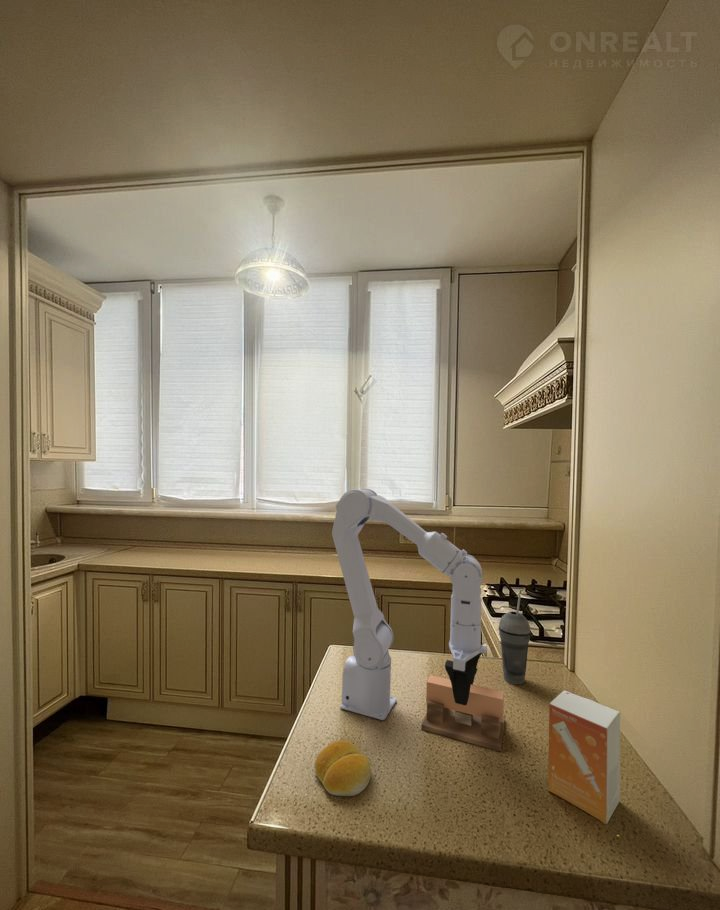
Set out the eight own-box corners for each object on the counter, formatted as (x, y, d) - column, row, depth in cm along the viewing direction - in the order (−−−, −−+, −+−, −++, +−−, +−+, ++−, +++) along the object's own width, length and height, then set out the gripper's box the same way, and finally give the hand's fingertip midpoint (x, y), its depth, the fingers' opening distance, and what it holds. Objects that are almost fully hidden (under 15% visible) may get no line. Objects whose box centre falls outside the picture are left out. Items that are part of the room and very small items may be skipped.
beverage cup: (506, 669, 100) (507, 587, 101) (536, 681, 94) (536, 594, 95) (491, 678, 95) (493, 592, 96) (521, 691, 89) (522, 600, 90)
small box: (547, 791, 61) (547, 702, 61) (563, 771, 65) (563, 688, 66) (607, 826, 55) (607, 727, 55) (621, 802, 59) (621, 710, 60)
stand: (421, 729, 75) (421, 707, 75) (433, 702, 84) (433, 682, 84) (500, 751, 69) (501, 727, 69) (504, 720, 78) (504, 699, 79)
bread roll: (335, 808, 57) (335, 779, 57) (307, 768, 64) (308, 742, 64) (382, 786, 61) (383, 758, 61) (352, 751, 68) (352, 726, 69)
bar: (426, 703, 78) (426, 681, 78) (429, 695, 81) (430, 675, 81) (502, 722, 73) (502, 699, 73) (503, 713, 75) (503, 691, 76)
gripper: (482, 638, 69) (481, 719, 69) (490, 613, 83) (489, 680, 82) (442, 630, 72) (440, 708, 71) (456, 607, 85) (454, 673, 85)
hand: (464, 693), depth 77 cm, fingers open, 7 cm apart
